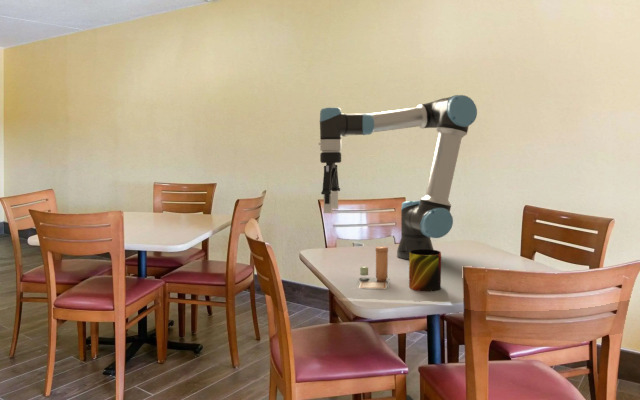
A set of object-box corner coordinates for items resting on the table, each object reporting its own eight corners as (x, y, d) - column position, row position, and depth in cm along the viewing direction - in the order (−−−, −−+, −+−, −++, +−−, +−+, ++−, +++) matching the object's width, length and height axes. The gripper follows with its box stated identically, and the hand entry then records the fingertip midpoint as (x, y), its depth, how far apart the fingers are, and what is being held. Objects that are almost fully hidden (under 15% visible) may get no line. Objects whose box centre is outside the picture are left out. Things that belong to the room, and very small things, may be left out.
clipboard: (389, 280, 164) (389, 277, 163) (388, 292, 150) (388, 289, 150) (359, 279, 165) (359, 276, 165) (356, 291, 152) (356, 288, 152)
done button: (368, 273, 163) (368, 266, 163) (367, 275, 161) (367, 268, 161) (360, 273, 164) (360, 266, 164) (360, 275, 161) (360, 268, 161)
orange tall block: (387, 279, 163) (388, 246, 161) (387, 282, 159) (387, 249, 158) (375, 278, 163) (375, 246, 162) (375, 281, 159) (375, 248, 158)
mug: (410, 281, 163) (410, 246, 161) (446, 289, 153) (447, 252, 151) (392, 287, 156) (392, 250, 155) (428, 296, 146) (429, 256, 145)
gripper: (326, 151, 187) (327, 206, 189) (313, 151, 163) (313, 215, 165) (346, 151, 186) (346, 206, 188) (335, 151, 161) (335, 215, 163)
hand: (331, 210), depth 176 cm, fingers open, 13 cm apart
